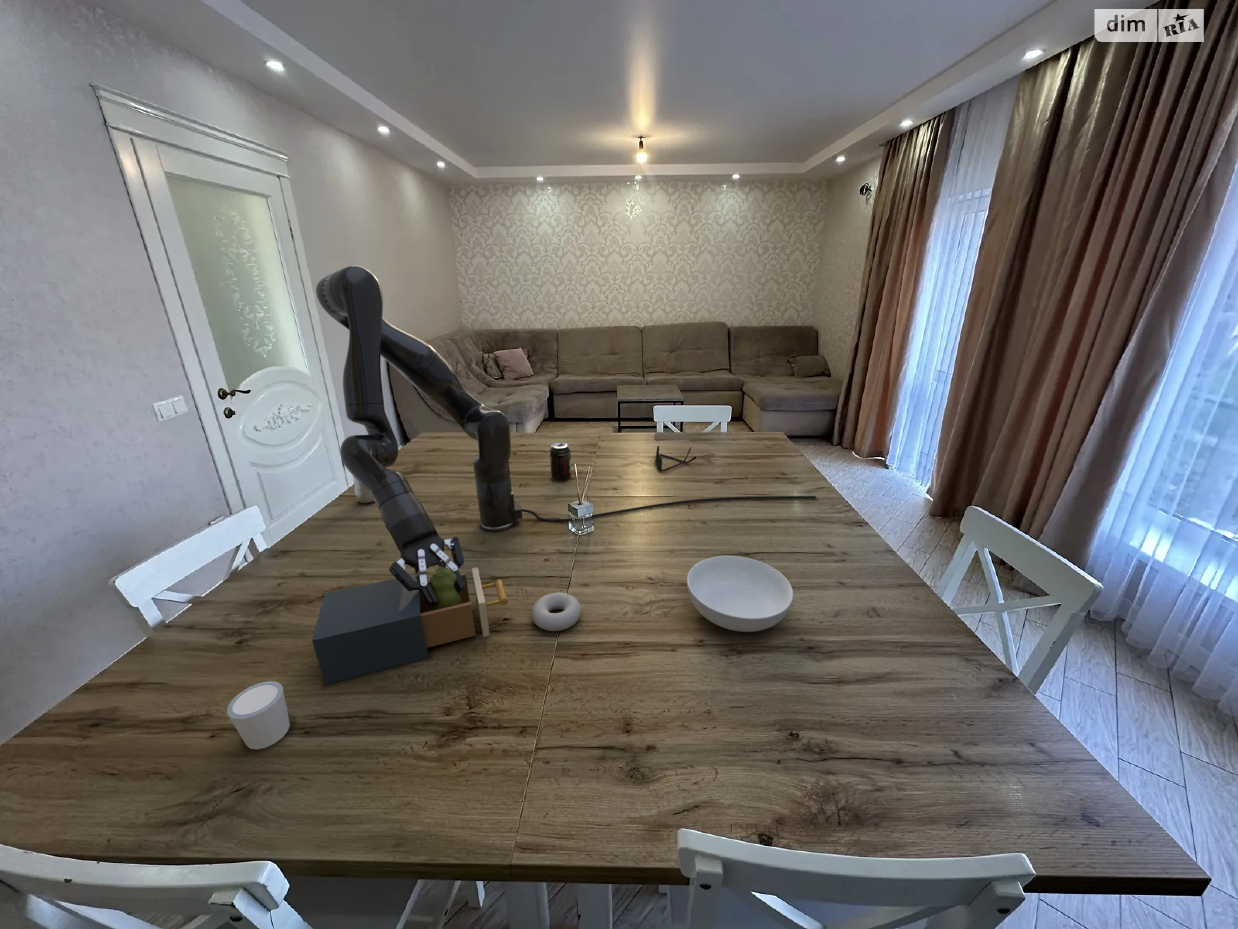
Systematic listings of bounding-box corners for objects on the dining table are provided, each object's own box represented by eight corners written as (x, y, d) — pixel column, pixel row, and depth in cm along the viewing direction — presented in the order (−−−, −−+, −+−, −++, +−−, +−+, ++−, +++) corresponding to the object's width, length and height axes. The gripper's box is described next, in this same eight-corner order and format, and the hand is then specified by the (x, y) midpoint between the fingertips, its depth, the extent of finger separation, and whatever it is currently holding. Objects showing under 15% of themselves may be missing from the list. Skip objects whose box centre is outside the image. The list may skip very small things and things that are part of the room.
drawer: (502, 593, 104) (498, 562, 102) (512, 629, 94) (508, 596, 91) (403, 616, 98) (396, 584, 95) (402, 658, 87) (394, 623, 84)
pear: (426, 617, 93) (418, 573, 89) (445, 601, 98) (438, 559, 94) (450, 624, 91) (442, 580, 87) (468, 607, 96) (461, 565, 92)
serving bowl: (729, 662, 87) (732, 631, 84) (666, 597, 104) (667, 570, 102) (812, 625, 96) (817, 596, 93) (741, 571, 113) (744, 546, 110)
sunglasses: (697, 472, 169) (698, 459, 167) (656, 472, 169) (656, 459, 167) (691, 455, 184) (692, 443, 182) (654, 455, 184) (654, 443, 182)
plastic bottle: (371, 506, 146) (357, 444, 138) (351, 504, 147) (337, 442, 140) (385, 497, 152) (372, 437, 144) (366, 495, 153) (352, 435, 146)
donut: (569, 640, 92) (589, 607, 101) (568, 626, 91) (588, 594, 100) (523, 629, 96) (546, 598, 104) (521, 615, 94) (545, 584, 103)
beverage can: (575, 477, 166) (574, 444, 161) (563, 484, 160) (561, 450, 156) (560, 473, 169) (558, 440, 165) (547, 479, 164) (545, 446, 159)
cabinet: (426, 612, 100) (418, 573, 96) (428, 658, 88) (419, 615, 85) (336, 633, 94) (324, 593, 91) (325, 685, 83) (311, 640, 79)
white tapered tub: (258, 715, 77) (245, 682, 74) (303, 712, 78) (292, 679, 75) (230, 755, 71) (214, 720, 68) (279, 751, 71) (266, 716, 69)
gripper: (373, 527, 87) (417, 610, 84) (446, 500, 97) (487, 574, 94) (366, 542, 92) (408, 621, 89) (436, 516, 102) (475, 586, 99)
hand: (448, 597), depth 91 cm, fingers closed on pear, 4 cm apart
